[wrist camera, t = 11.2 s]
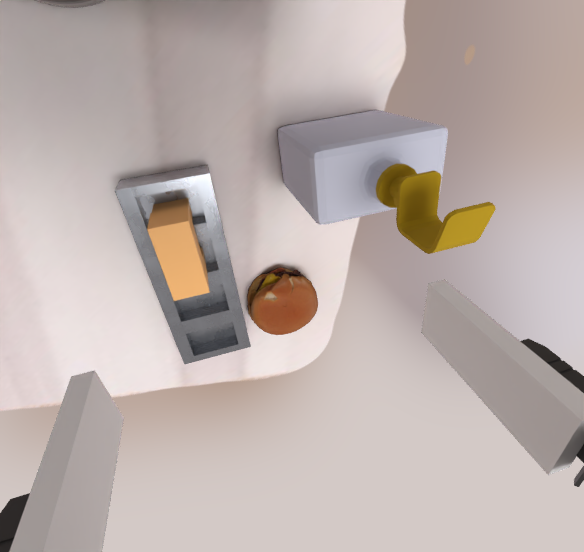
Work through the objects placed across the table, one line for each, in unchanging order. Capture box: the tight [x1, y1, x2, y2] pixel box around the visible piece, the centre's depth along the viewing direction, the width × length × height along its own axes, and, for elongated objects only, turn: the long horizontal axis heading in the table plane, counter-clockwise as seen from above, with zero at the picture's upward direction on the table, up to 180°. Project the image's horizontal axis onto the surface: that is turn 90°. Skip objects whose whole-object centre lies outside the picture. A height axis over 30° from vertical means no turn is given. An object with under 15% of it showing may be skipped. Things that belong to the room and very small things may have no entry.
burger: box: [248, 268, 318, 335], centre depth 46 cm, size 10×9×5 cm
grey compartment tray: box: [115, 165, 251, 364], centre depth 41 cm, size 24×9×4 cm, turn 7°
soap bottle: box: [278, 110, 495, 254], centre depth 30 cm, size 12×7×23 cm, turn 97°
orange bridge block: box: [147, 198, 210, 301], centre depth 35 cm, size 8×4×7 cm, turn 7°
